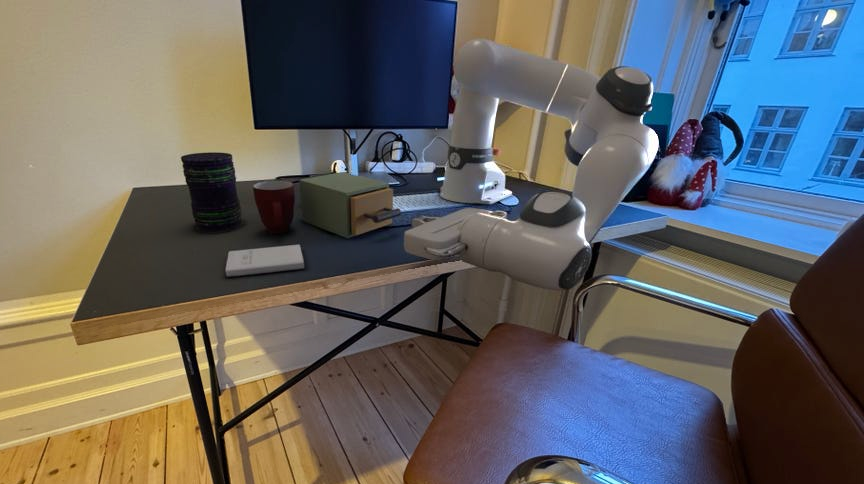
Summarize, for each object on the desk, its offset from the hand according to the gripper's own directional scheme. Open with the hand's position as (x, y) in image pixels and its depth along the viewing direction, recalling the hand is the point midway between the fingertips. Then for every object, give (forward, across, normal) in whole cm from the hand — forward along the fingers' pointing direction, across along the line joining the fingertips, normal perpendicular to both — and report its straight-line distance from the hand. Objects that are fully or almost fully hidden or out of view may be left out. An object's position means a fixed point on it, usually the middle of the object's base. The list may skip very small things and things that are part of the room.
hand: (416, 221), depth 70 cm
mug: (+25, -14, -6) cm, 30 cm away
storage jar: (+39, -21, -6) cm, 44 cm away
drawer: (+16, 0, -5) cm, 17 cm away
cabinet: (+21, 0, -5) cm, 21 cm away
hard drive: (+14, -25, -6) cm, 29 cm away
